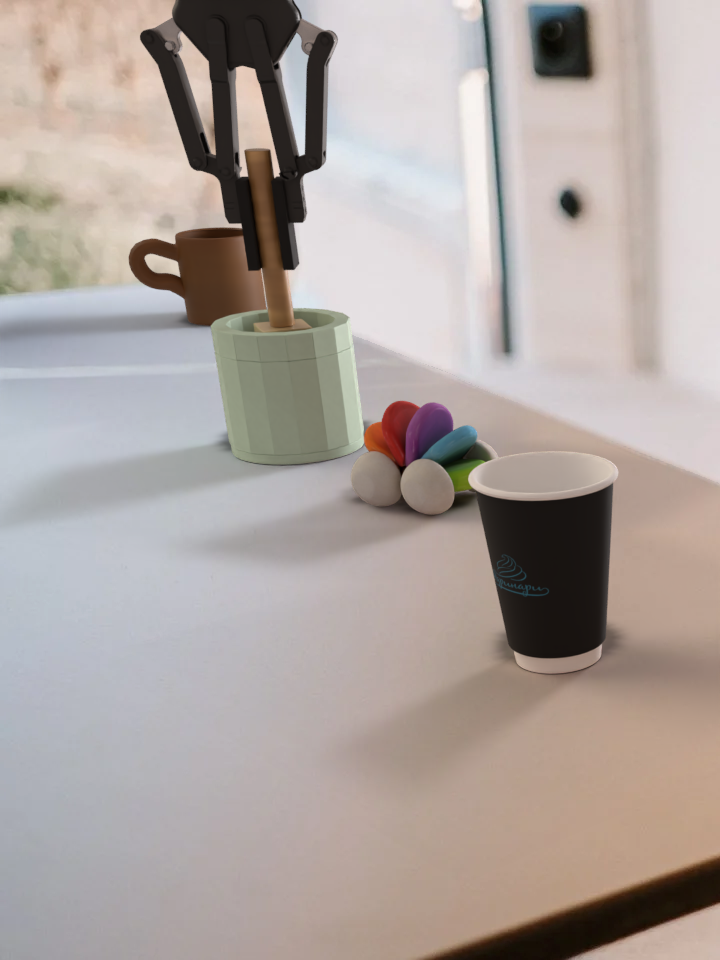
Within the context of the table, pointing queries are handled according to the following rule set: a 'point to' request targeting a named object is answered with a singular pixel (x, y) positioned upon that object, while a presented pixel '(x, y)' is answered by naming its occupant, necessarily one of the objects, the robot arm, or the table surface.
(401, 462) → the rainbow petal wheeled toy
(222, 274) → the mug
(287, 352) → the jar
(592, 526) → the dixie cup
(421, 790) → the table surface
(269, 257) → the brush
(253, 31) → the robot arm
